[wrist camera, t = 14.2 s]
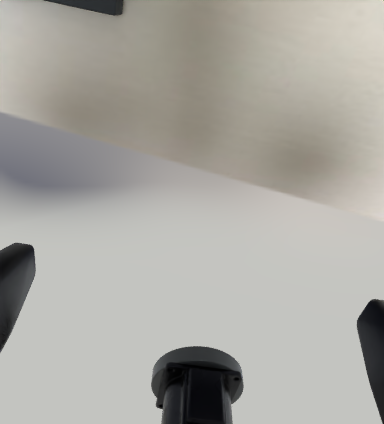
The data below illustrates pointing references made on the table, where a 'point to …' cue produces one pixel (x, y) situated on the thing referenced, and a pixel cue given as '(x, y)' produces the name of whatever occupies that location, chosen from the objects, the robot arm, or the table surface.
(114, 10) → the base pad
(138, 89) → the table surface
